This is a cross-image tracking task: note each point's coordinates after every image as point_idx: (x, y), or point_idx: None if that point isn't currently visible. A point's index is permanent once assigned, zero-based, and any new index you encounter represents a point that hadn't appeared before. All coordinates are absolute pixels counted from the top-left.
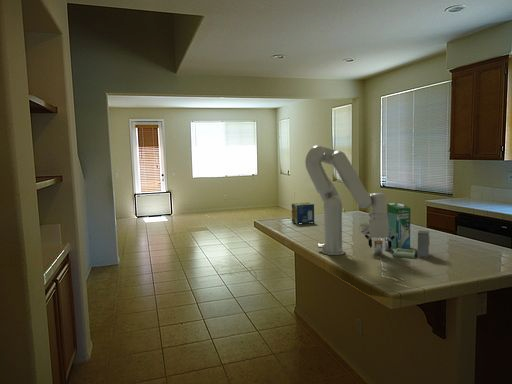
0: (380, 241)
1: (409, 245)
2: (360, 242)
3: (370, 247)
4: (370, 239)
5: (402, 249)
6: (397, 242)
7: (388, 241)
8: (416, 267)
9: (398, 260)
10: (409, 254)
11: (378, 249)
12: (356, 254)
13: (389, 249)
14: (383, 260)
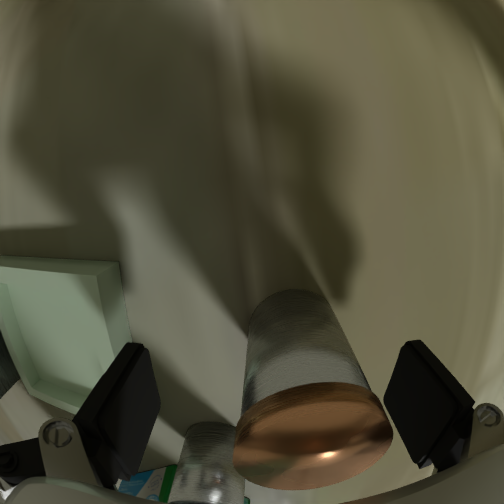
0: (271, 443)
1: (122, 483)
2: (393, 489)
3: (409, 341)
4: (459, 433)
5: None
6: (160, 499)
7: (99, 422)
8: (7, 38)
9: (65, 122)
10: (1, 265)
11: (297, 322)
12: (486, 222)
13: (200, 434)
14: (197, 47)
